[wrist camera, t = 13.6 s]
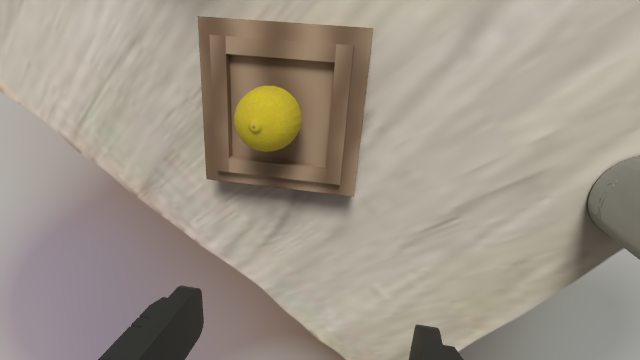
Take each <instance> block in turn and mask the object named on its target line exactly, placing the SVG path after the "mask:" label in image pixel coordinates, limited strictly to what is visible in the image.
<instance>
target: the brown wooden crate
mask: <svg viewBox="0 0 640 360" xmlns="http://www.w3.org/2000/svg"><path fill="white" fill-rule="evenodd" d="M198 30H199V48H200V67H201V85H202V103H203V122H204V140H205V159H206V177H207V179H211V180H219V181H227V182H236V183H244V184H253V185H261V186H270V187H278V188H286V189H295V190H303V191H312V192H320V193H328V194H337V195H345V196H354V191H355V182H356V173H357V165H358V156H359V148H360V139H361V130H362V122H363V113H364V104H365V96H366V87H367V78H368V70H369V61H370V52H371V44H372V35H373V28H361V27H346V26H332V25H317V24H302V23H288V22H273V21H258V20H244V19H229V18H214V17H200V16H198ZM261 86H276V87H279V88H282V89H284V90H286V91H287V92H289V93H290V94H291V95H292V96H293V97H294V98H295V99H296V101H297V103H298V104H299V107H300V110H301V116H302V122H301V127H300V130H299V132H298V134H297V136H296V137H295V138H294V140H293V141H292V142H291V143H290V144H288V145H287V146H285V147H284V148H282V149H279V150H276V151H268V152H264V151H258V150H255V149H253V148H251V147H249V146H248V145H246V144H245V143H244V142H243V141H242V140H241V139H240V137H239V136H238V134H237V132H236V129H235V125H234V114H235V110H236V107H237V105H238V103H239V102H240V100H241V99H242V98H243V97H244V96H245V95H246V94H247V93H248V92H249V91H251V90H253V89H255V88H257V87H261Z"/></svg>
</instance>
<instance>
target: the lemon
mask: <svg viewBox="0 0 640 360" xmlns="http://www.w3.org/2000/svg"><path fill="white" fill-rule="evenodd" d="M301 122H302V116H301V110H300V107H299V104H298V103H297V101H296V99H295V98H294V97H293V96H292V95H291V94H290V93H289V92H287V91H286V90H284V89H282V88H279V87H276V86H261V87H257V88H255V89H253V90H251V91H249V92H248V93H247V94H246V95H245V96H244V97H243V98H242V99H241V100H240V102H239V103H238V105H237V107H236V110H235V114H234V125H235V129H236V132H237V134H238V136H239V137H240V139H241V140H242V141H243V142H244V143H245V144H246V145H248V146H249V147H251V148H253V149H255V150H258V151H264V152H268V151H276V150H279V149H282V148H284V147H285V146H287V145H288V144H290V143H291V142H292V141H293V140H294V138H295V137H296V136H297V134H298V132H299V130H300V127H301Z"/></svg>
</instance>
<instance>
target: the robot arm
mask: <svg viewBox="0 0 640 360" xmlns="http://www.w3.org/2000/svg"><path fill="white" fill-rule="evenodd" d="M588 211H589V214H590V217H591V219H592V220H593V222H594V223H595V224H596V225H597V226H598V227H599V228H600V229H601V230H602V231H604V232H605V233H606V234H608V235H609V236H610V237H611V238H613V239H614V240H615V241H617V242H618V243H619V244H620V245H622V246H623V247H624V248H625V249H627V250H628V251H629V252H630V253H632V254H633V255H634V256H636V257H637V258H638V259H640V156H637V157H633V158H629V159H627V160H624V161H622V162H620V163H618V164H616V165H615V166H613V167H611V168H610V169H608V170H607V171H606V172H605V173H604V174H603V175H602V176H601V177H600V178H599V179H598V180H597V182H596V183H595V184H594V186H593V188H592V190H591V192H590V195H589V199H588ZM203 322H204V321H203V306H202V293H201V290H200V289H199V288H193V287H186V286H179V287H178V288H177V289H176V290H175V291H174V292H173V293H172V294H171V295H170V296H169V297H168V298H165V297H163V298H161V299H160V300H158V301H156V302H154V303H153V304H151V305H149V307H148V308H147V309H146V310H145V311H144V312H143V313H142V314H141V315H140V317H139V318H137V319H136V320H135V321H134V322H133V323H132V325H131V327H129V328H128V329H127V330H126V331H125V332H124V333H123V334H122V335H121V336H120V337H119V338H118V339H117V340H116V341H115V342H114V344H113V345H112V346H111V347H110V348H109V349H108V350H107V351H106V352H105V353H104V354H103V355H102V356H101V357H100V358H99V359H98V360H185V358H186V357H187V355H188V354H189V352H190V351H191V349H192V348H193V346H194V345H195V343H196V342H197V340H198V338H199V337H200V334H201V332H202V328H203ZM409 360H463V359H462V357H461V356H460V354H459V353H458V352H457V350H456V349H455V347H452V346H446V345H443V344H442V340H441V335H440V331H439V329H438V328H435V327H429V326H423V325H416V326H415V330H414V335H413V341H412V346H411V351H410V356H409Z"/></svg>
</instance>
